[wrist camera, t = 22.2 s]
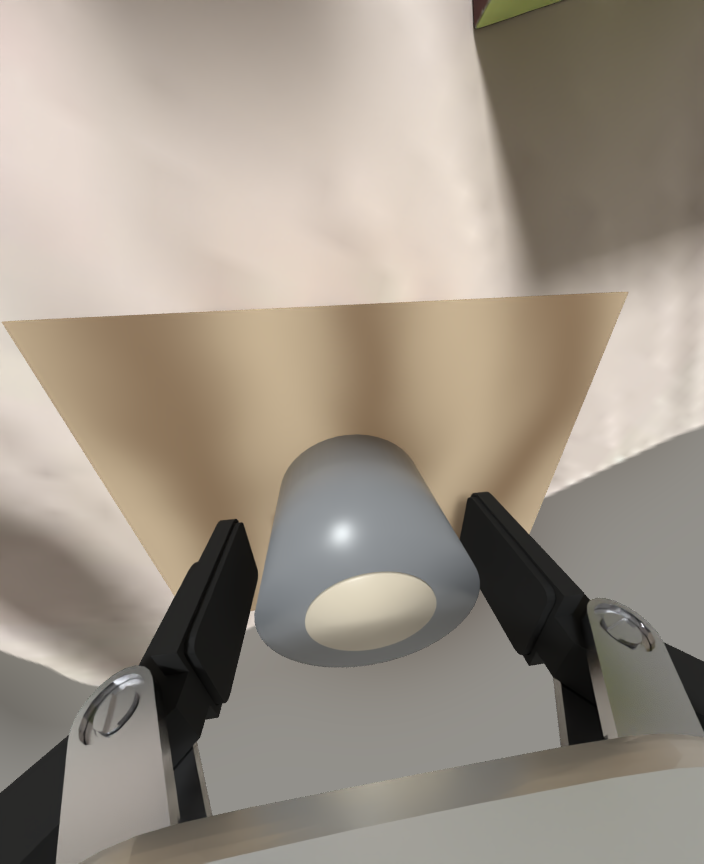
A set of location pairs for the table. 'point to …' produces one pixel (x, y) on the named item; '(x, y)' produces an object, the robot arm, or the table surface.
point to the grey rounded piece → (360, 559)
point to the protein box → (503, 9)
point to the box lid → (316, 402)
